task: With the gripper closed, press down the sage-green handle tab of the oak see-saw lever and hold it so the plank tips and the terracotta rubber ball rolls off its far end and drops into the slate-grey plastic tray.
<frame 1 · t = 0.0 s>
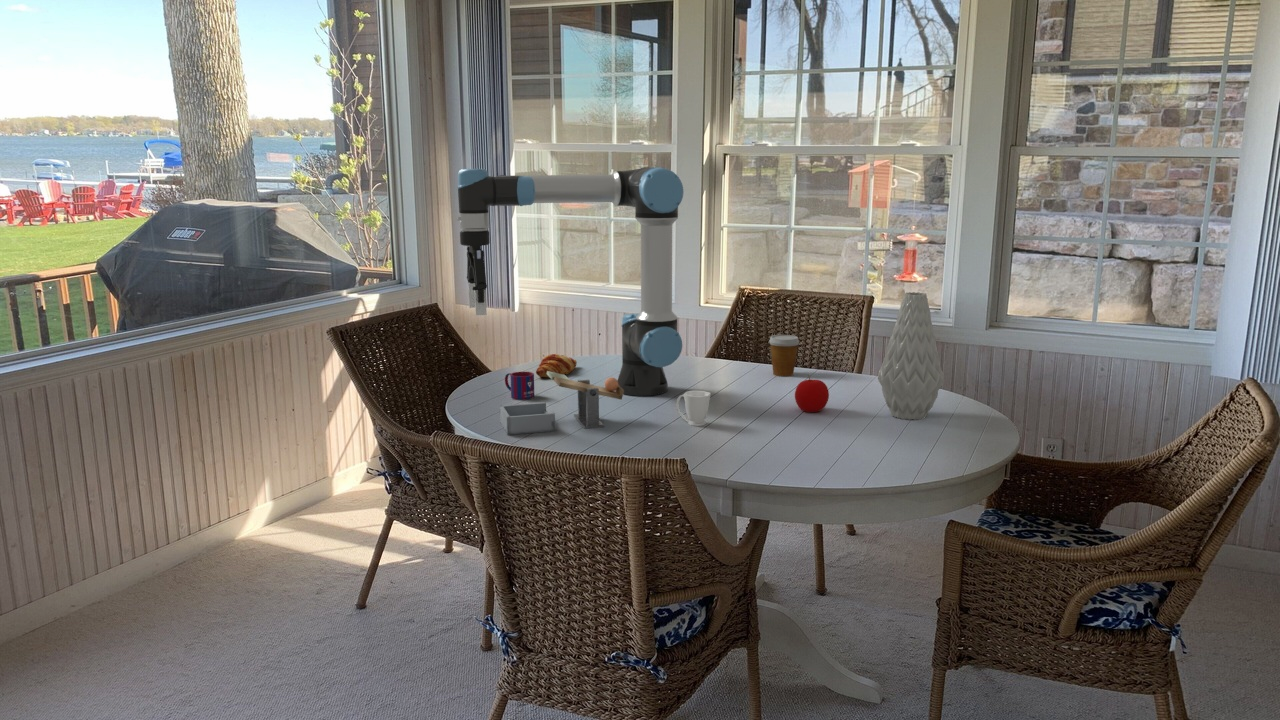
hand: (477, 311, 250), 28 cm above the table, fingers open, 13 cm apart
lever: (584, 382, 250), point 10 cm above the table, hinge at -16.2°, touching ball
cup 2: (692, 423, 248), on the table
disposable coffee cup: (783, 374, 303), on the table
ball: (611, 384, 249), point 10 cm above the table, tilted 15°, touching lever
fruit: (810, 411, 259), on the table
tray: (527, 426, 244), on the table
vase: (908, 416, 253), on the table
fulcrum: (588, 421, 249), on the table
cup: (519, 396, 276), on the table
croissant: (557, 374, 305), on the table
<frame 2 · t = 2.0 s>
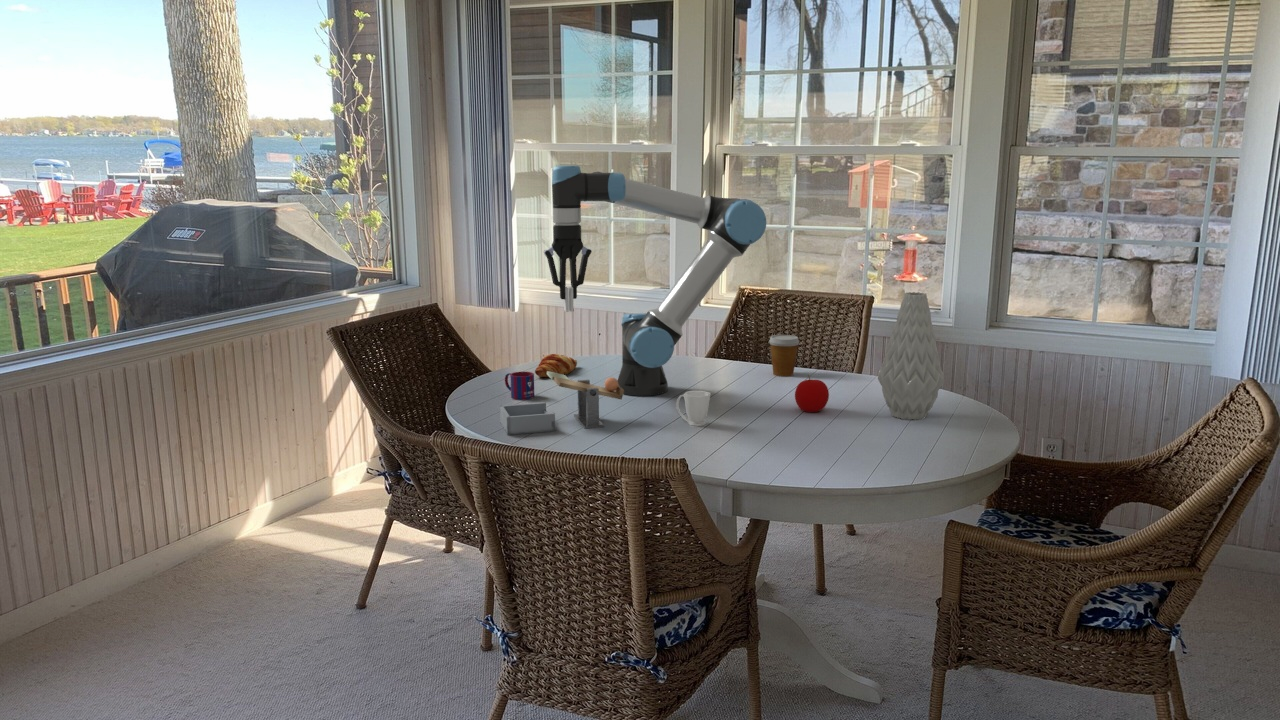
hand: (568, 310, 261), 26 cm above the table, fingers closed
nothing on the table moved.
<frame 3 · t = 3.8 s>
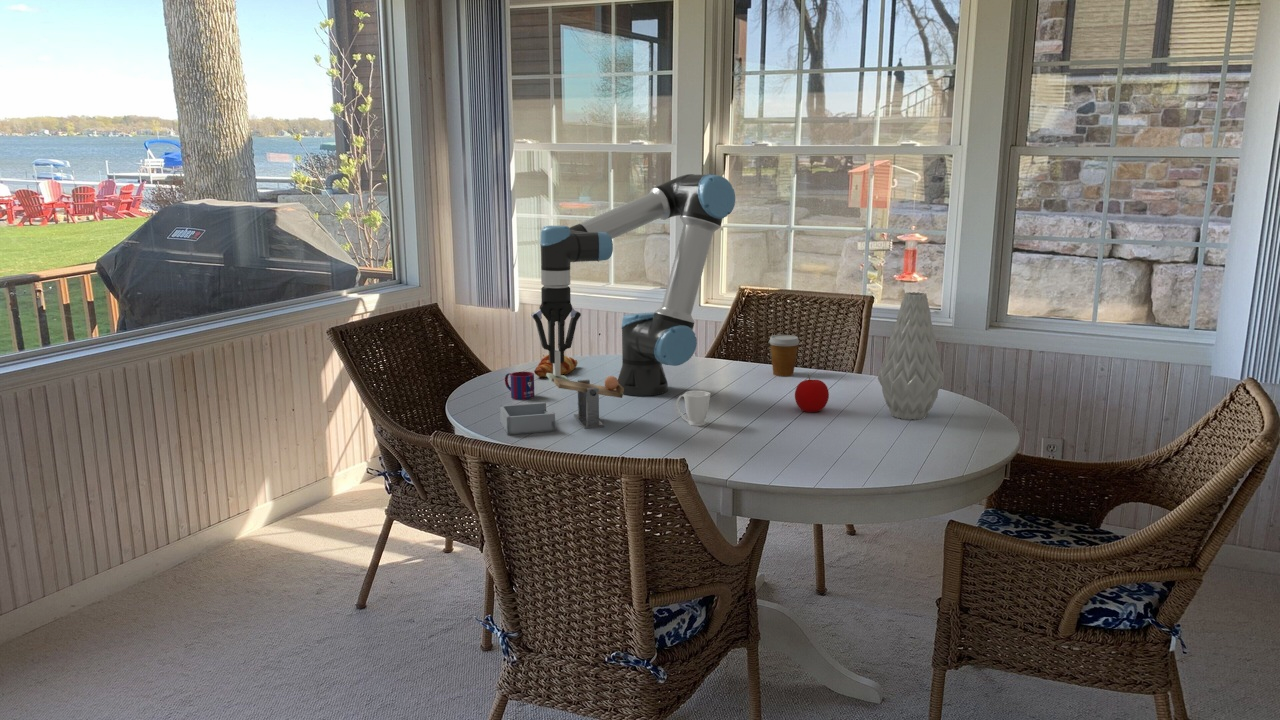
hand: (556, 375, 252), 11 cm above the table, fingers closed
lever: (584, 382, 250), point 10 cm above the table, hinge at -13.0°, touching ball, gripper
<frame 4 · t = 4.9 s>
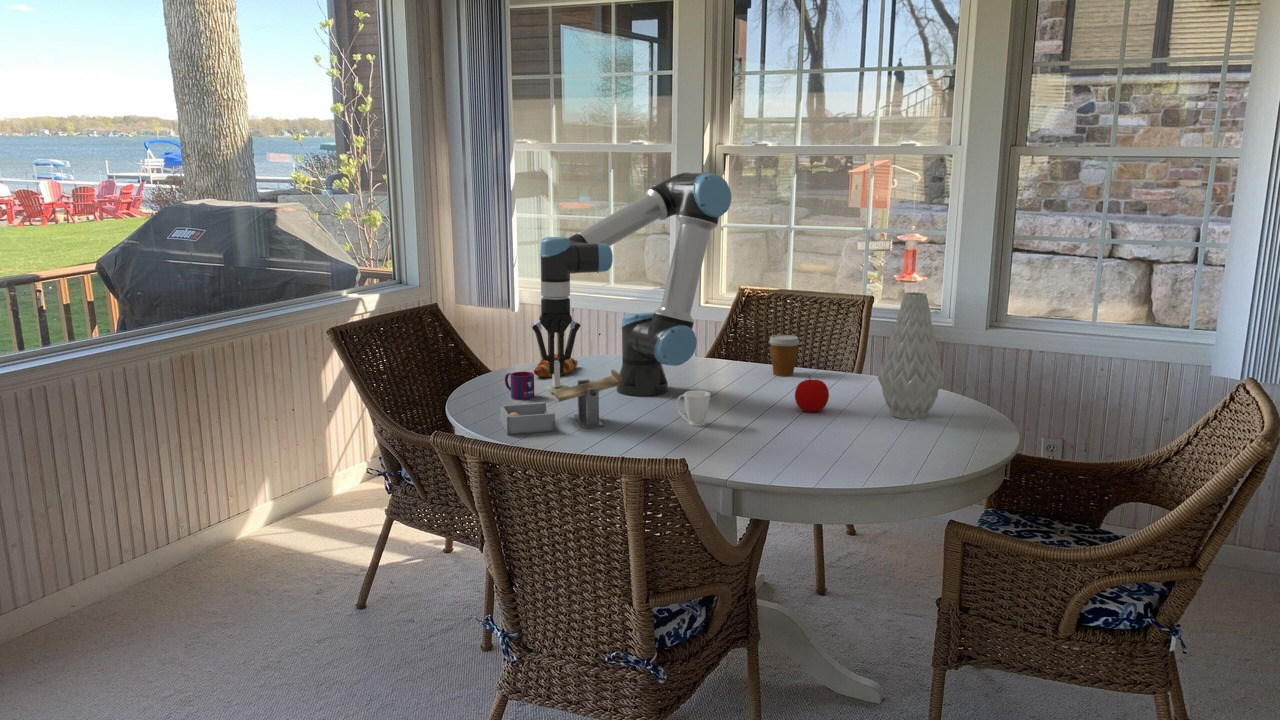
hand: (556, 385, 252), 8 cm above the table, fingers closed
lever: (583, 382, 250), point 10 cm above the table, hinge at 11.3°, touching gripper
ball: (514, 419, 243), point 2 cm above the table, tilted 126°, touching tray
everything else where it was.
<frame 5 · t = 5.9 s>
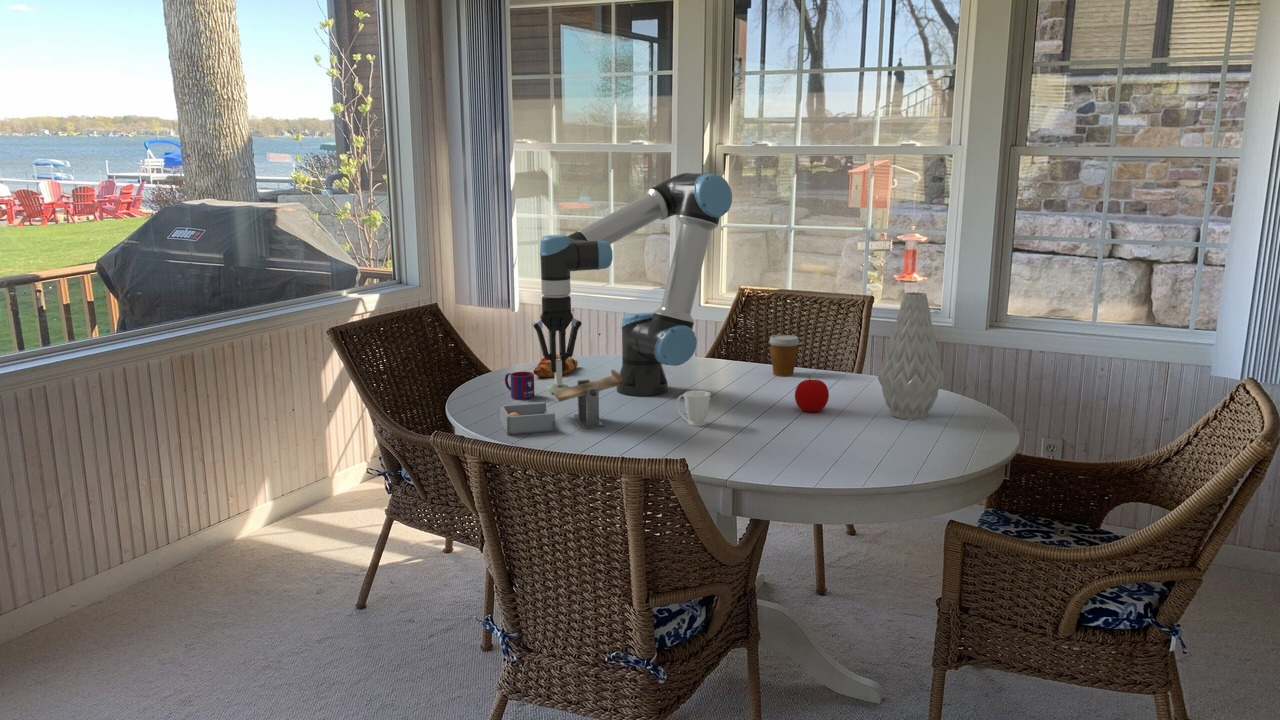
hand: (558, 383, 252), 9 cm above the table, fingers closed
lever: (583, 382, 250), point 10 cm above the table, hinge at 11.3°
everything else where it was.
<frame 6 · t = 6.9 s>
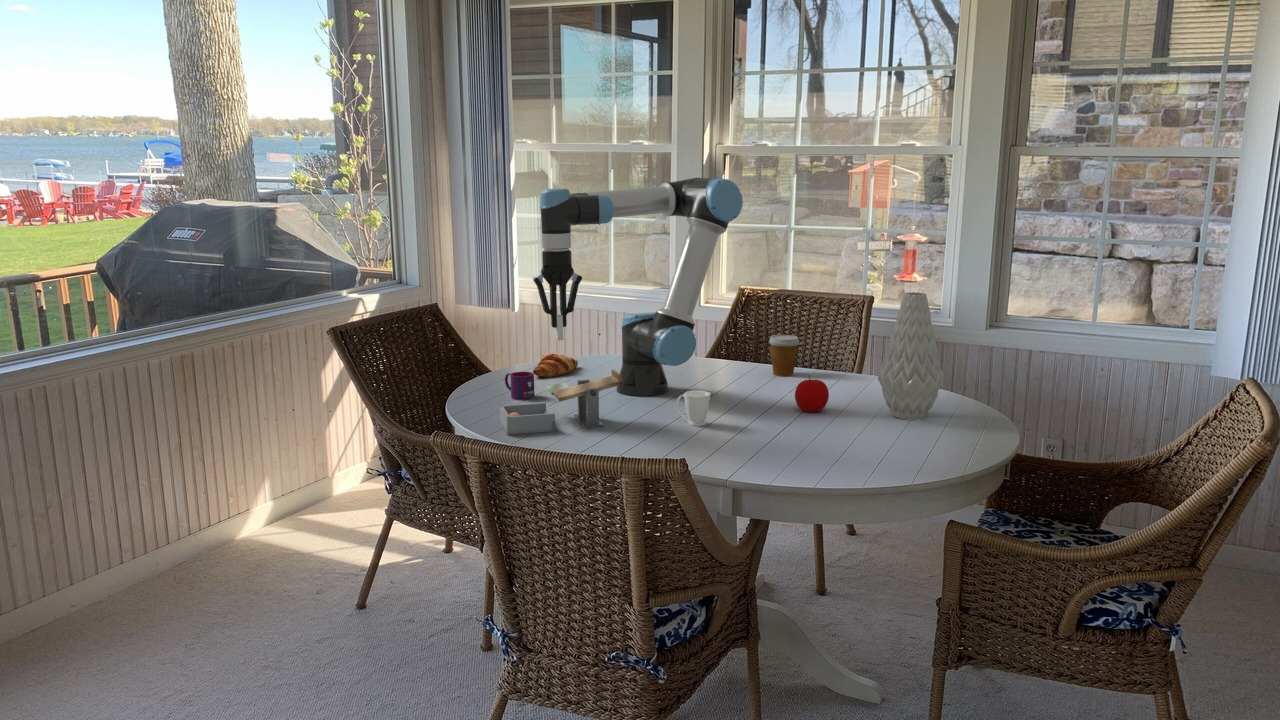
hand: (559, 339, 251), 21 cm above the table, fingers closed
nothing on the table moved.
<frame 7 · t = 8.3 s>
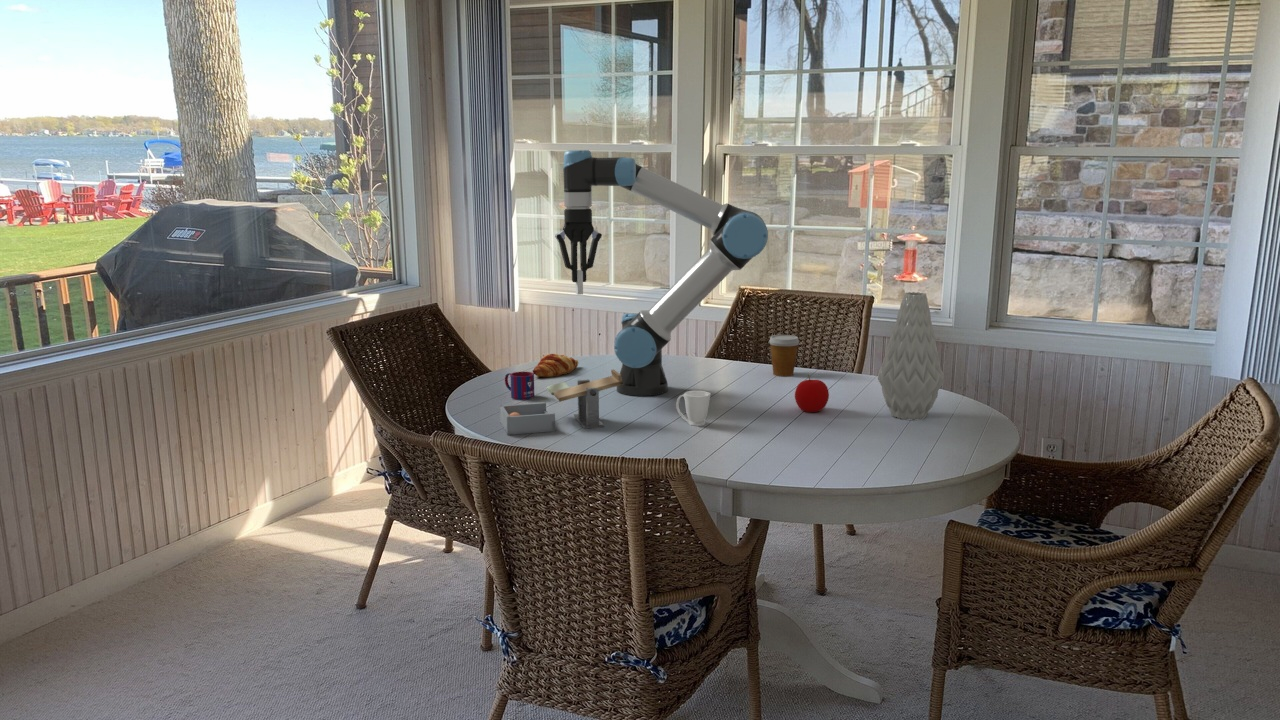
hand: (579, 293, 265), 30 cm above the table, fingers closed
nothing on the table moved.
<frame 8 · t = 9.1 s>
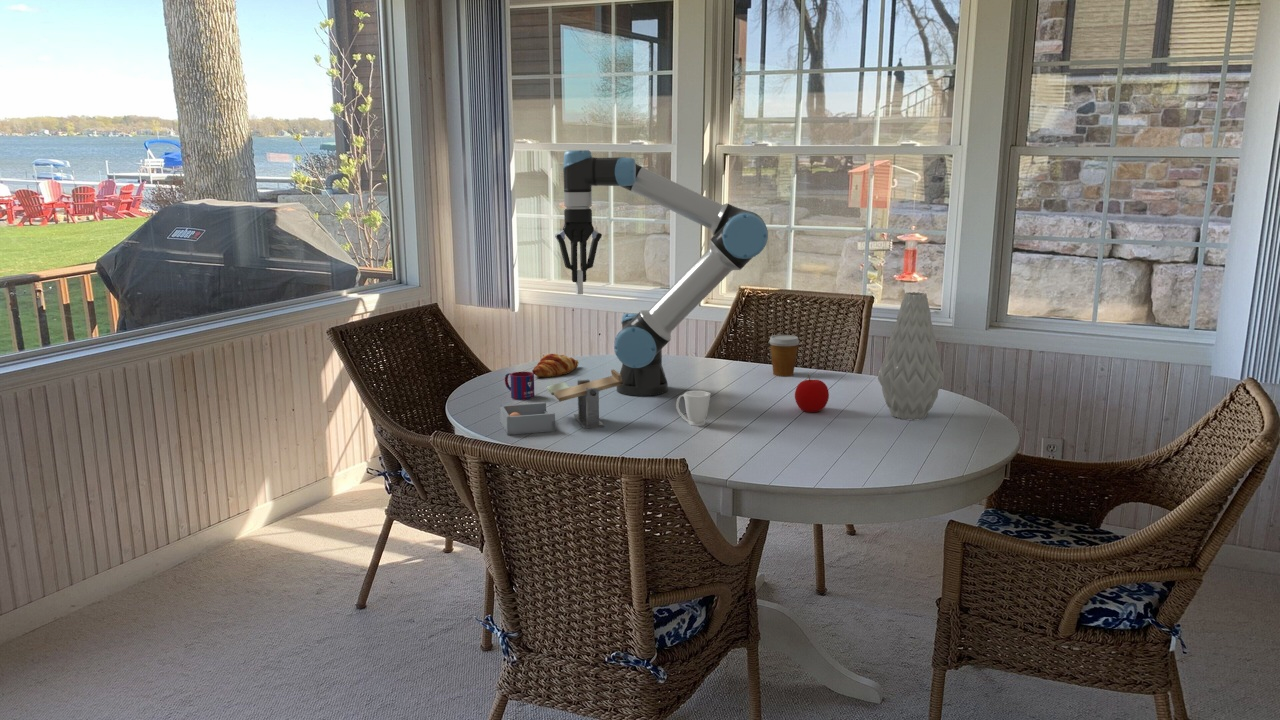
hand: (579, 293, 265), 30 cm above the table, fingers closed
nothing on the table moved.
at the end: ball inside the target area on the tray (3.1 cm from its centre), point 2.2 cm above the tray's base; ball touching tray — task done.
